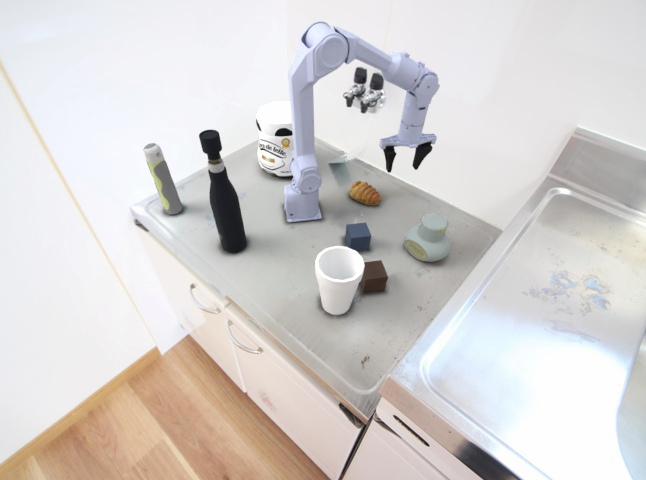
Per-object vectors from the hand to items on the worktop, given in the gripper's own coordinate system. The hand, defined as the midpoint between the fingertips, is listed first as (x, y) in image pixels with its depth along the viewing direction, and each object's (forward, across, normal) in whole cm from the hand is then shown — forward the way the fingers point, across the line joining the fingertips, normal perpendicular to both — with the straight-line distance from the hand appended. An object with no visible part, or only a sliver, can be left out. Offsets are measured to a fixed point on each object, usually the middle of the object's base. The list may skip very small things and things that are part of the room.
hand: (401, 169), depth 94 cm
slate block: (+9, -17, -18) cm, 26 cm away
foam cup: (+9, -26, -35) cm, 45 cm away
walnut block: (+9, -17, -31) cm, 37 cm away
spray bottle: (+9, -64, +4) cm, 65 cm away
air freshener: (+9, -1, -24) cm, 25 cm away
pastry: (+9, -10, +1) cm, 13 cm away
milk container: (+9, -30, +21) cm, 38 cm away
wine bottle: (+9, -48, -13) cm, 50 cm away
